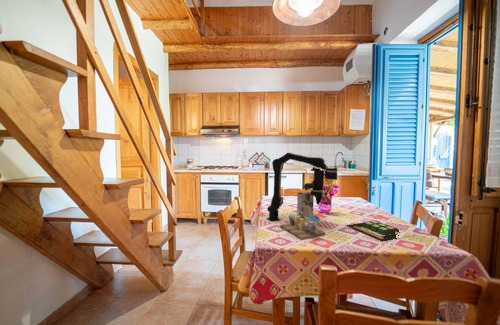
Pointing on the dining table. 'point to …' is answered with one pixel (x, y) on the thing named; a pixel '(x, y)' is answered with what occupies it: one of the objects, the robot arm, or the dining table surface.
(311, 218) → the lever
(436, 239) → the dining table surface
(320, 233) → the valve board
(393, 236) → the sushi
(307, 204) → the coffee box
